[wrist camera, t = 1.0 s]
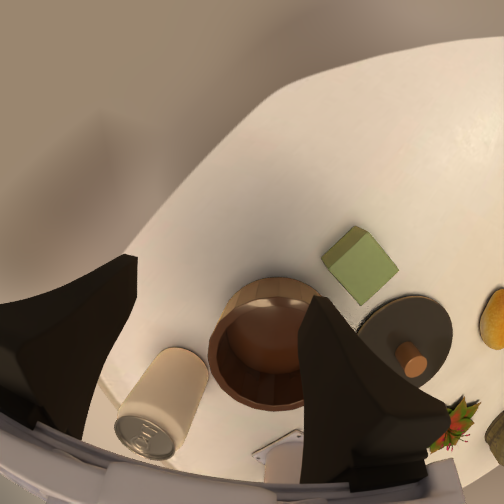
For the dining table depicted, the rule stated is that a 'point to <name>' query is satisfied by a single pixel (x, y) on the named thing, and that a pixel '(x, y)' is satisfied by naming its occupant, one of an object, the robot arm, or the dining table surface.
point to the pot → (261, 344)
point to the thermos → (496, 438)
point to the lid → (410, 337)
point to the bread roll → (493, 321)
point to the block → (359, 264)
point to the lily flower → (456, 426)
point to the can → (162, 405)
